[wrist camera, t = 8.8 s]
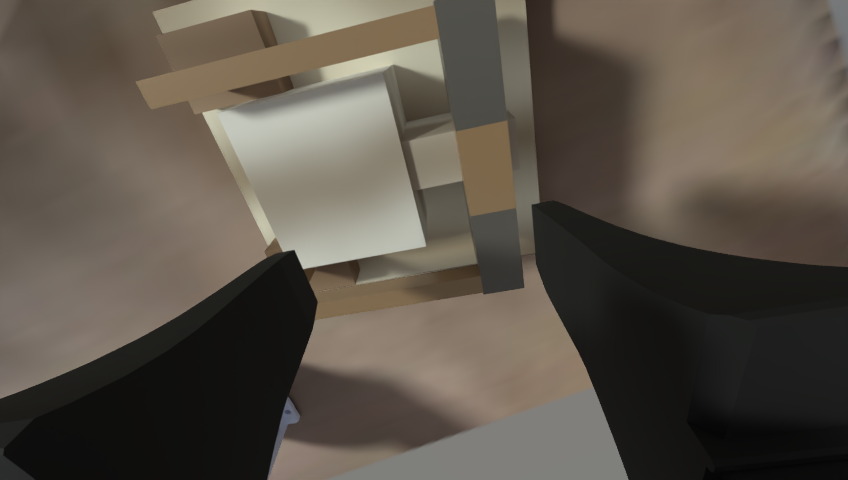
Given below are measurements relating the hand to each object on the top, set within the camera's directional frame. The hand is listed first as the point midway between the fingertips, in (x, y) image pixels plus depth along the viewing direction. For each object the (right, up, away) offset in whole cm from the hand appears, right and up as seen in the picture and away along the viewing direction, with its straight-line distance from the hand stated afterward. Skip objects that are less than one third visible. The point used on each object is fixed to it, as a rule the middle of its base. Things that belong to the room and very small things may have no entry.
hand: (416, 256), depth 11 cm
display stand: (-2, +6, +8) cm, 10 cm away
